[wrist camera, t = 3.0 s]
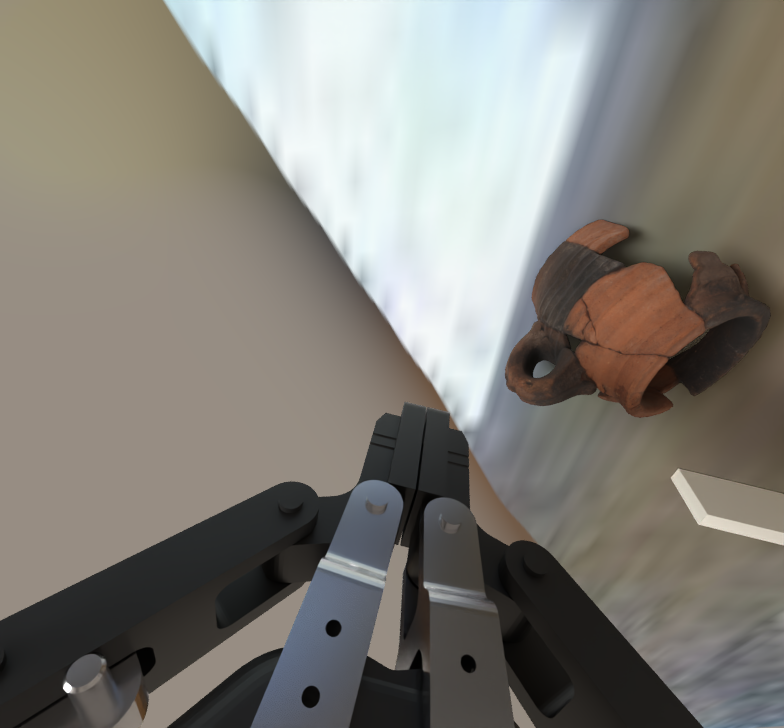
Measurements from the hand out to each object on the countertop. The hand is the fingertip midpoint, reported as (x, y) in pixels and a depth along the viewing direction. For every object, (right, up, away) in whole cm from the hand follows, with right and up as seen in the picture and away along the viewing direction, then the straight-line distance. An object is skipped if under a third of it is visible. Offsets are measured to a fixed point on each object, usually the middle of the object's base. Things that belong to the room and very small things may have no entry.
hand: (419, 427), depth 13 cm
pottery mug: (+11, +6, +11) cm, 17 cm away
